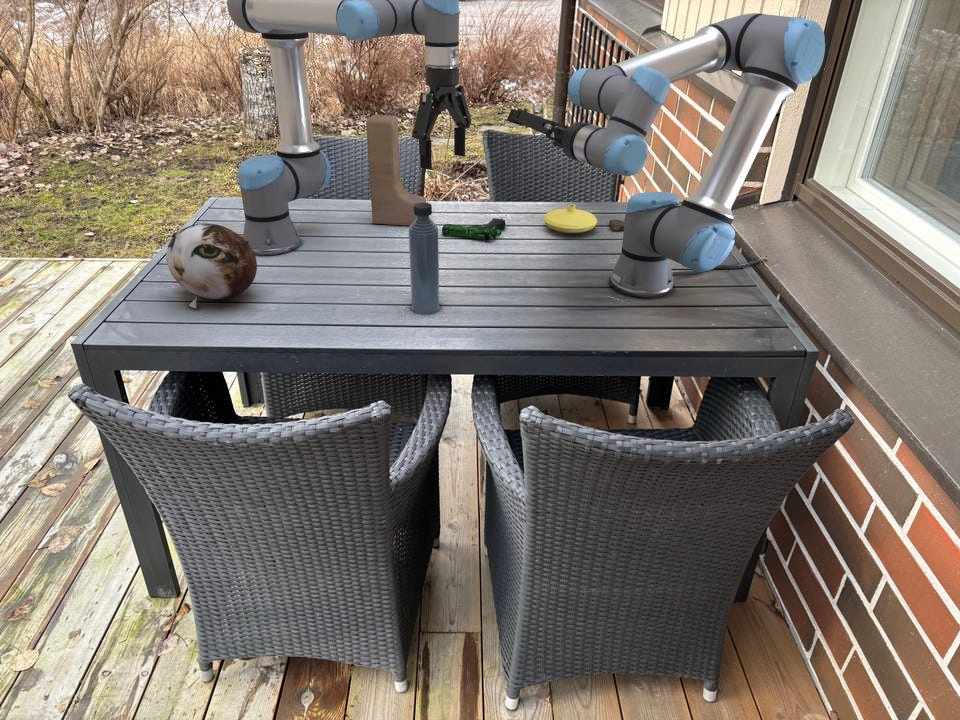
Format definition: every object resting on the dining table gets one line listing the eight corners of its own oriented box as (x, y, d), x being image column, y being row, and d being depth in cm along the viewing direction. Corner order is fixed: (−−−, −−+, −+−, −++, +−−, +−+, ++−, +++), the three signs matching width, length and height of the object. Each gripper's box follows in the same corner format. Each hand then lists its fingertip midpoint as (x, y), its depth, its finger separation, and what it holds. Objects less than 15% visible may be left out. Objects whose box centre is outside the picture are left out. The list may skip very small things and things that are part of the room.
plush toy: (130, 285, 161) (164, 203, 163) (192, 308, 177) (221, 233, 178) (195, 307, 151) (229, 220, 152) (254, 330, 166) (285, 250, 168)
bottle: (439, 313, 163) (437, 212, 151) (411, 314, 163) (407, 212, 150) (439, 301, 168) (437, 202, 156) (412, 301, 168) (408, 202, 156)
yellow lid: (559, 216, 220) (561, 193, 217) (605, 227, 212) (608, 204, 209) (532, 230, 209) (533, 207, 206) (580, 242, 201) (582, 218, 198)
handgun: (511, 219, 210) (493, 234, 198) (511, 228, 211) (492, 244, 199) (461, 212, 215) (440, 226, 203) (461, 221, 217) (440, 236, 204)
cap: (431, 216, 152) (431, 208, 151) (413, 216, 152) (413, 208, 151) (431, 210, 156) (431, 202, 155) (414, 210, 155) (414, 202, 155)
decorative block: (421, 227, 210) (418, 122, 195) (372, 224, 212) (365, 119, 197) (426, 218, 217) (424, 116, 201) (378, 215, 218) (372, 114, 203)
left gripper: (421, 75, 148) (424, 176, 159) (486, 61, 166) (485, 153, 177) (393, 71, 151) (397, 171, 162) (460, 58, 169) (460, 148, 180)
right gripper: (532, 137, 138) (482, 121, 154) (621, 183, 151) (567, 164, 168) (548, 99, 136) (496, 87, 153) (637, 149, 150) (580, 133, 167)
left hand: (443, 161), depth 169 cm, fingers open, 13 cm apart
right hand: (533, 127), depth 161 cm, fingers open, 13 cm apart
